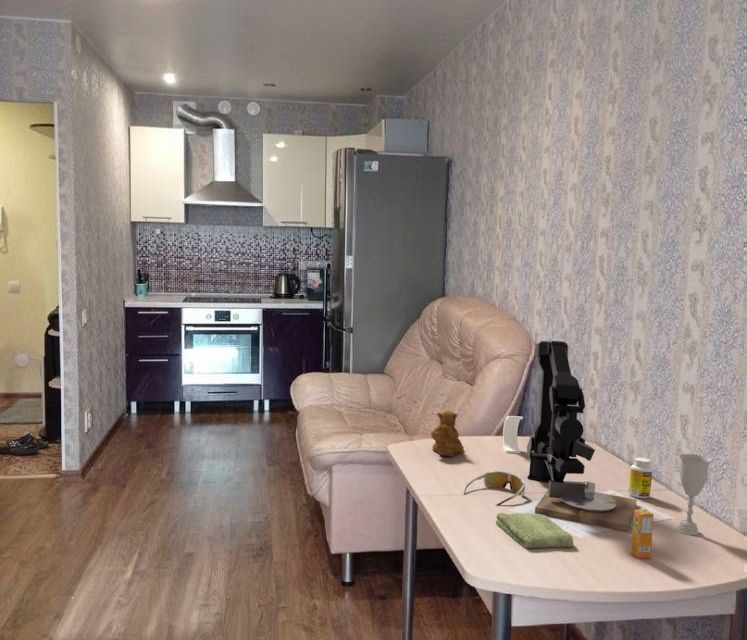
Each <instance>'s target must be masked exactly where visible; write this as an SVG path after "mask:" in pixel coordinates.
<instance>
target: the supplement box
mask: <svg viewBox="0 0 747 640" xmlns="http://www.w3.org/2000/svg"><path fill="white" fill-rule="evenodd" d="M632 520H633V522H632V530H631V531H632V532H631V545H630V554H631V555H633V556H634V557H636V559H651V555H652V543H653V542H652V541H653V529H654V528H653V526H654V525H653V524H654V513H653V512H651V511H650V510H649V509H647V508H641V509H635V510H634V513H633V519H632Z"/></svg>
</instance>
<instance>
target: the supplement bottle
mask: <svg viewBox="0 0 747 640" xmlns="http://www.w3.org/2000/svg"><path fill="white" fill-rule="evenodd" d="M653 471H654V470H653V468H652V467H651V460H650V459H649V458H646V457H645V458H644V457H635V459H634V464H632V465H631V466H630V475H629V477H630V478H629V485H628V487H629V488H628V494H629V496H631V497H633V498H637V499H643V500H644V499H645V500H646V499H648V498H649V497H650V496H651V489H652V480H653Z"/></svg>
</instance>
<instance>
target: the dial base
mask: <svg viewBox="0 0 747 640" xmlns="http://www.w3.org/2000/svg"><path fill="white" fill-rule="evenodd" d="M596 492H597V491H596ZM597 493H599V492H597ZM600 493H601V494H604V495H607V496H609V497H611V498H613V499H614V500H615V501H616V509H614V510H613V511H609V512H590V511H583V510H579V509H575V508H572V507H569V506H567V505H565V504H563V503H562V502H561V501H560V500H559V498H551V497H549V496H548V490H546V492H545V494H544V495H543V497H542V498H541V499H540V500H539V502H538V503H537V504H536V505H535V507H534V514H541V515H545V516H547V517H553V518H558V519H563V520H568V521H572V522H573V521H574V522H578V523H583V524H588V525H591V526H592V525H593V526H597V527H603V528H607V529H612V530H613V529H614V530H618V531H623V532H628V531H629V527H630V525H631V522H632V520H633V519H632V518H633V517H634V510H636V507H637V499H635V498H630V497H625V496H619V495H613V494H608V493H602V492H600Z"/></svg>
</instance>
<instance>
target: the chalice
mask: <svg viewBox="0 0 747 640" xmlns="http://www.w3.org/2000/svg"><path fill="white" fill-rule="evenodd" d="M679 458H680V461H681V462H680V471H679V472H680V473H679V477H680V481H681V485H682V487H683V491H684V493H685V495H687V496H688V502H687V503H686V504H687V507H688V508H687V509H686V510H685V512H686V513H687V516H686V518H685V519H682V520H680V523H679V524H678V526H677V528H676V531H677V532H679V533H682V534H684V535H689V536H698V535H699V534H700V532H699V530H698V529H699V528H698V527H697V523H696V522H695V521H694V520H693V519H692V515H693V514H694V510H693V507H694V506H695V503H694V498H695V497H697V496H699V495H700V493H701V491H702V490H703V489H704V487H705V485H706V483H707V480H708V474H709V467H710V466H709V465H710V463H711V462H712V459H711V458H710V457H707V456H703V455H698V454H694V453H683V454H680V455H679Z"/></svg>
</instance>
